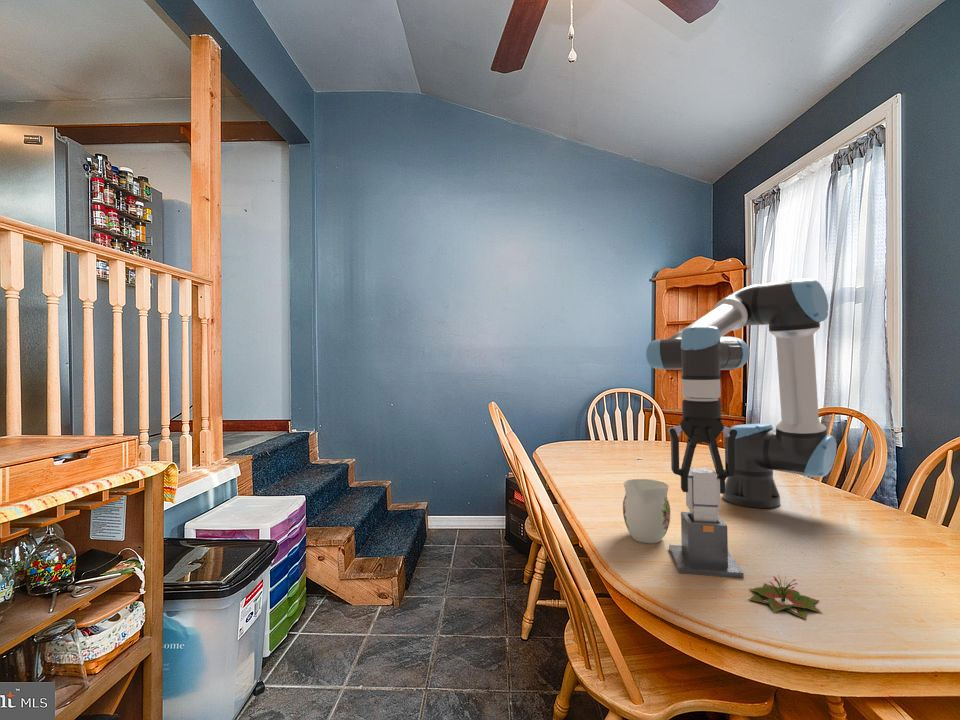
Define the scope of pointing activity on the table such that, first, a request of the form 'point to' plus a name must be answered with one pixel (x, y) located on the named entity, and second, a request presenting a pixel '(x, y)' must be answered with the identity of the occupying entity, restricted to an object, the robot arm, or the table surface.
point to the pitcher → (646, 509)
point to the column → (704, 495)
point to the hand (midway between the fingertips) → (702, 507)
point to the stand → (704, 549)
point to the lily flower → (783, 593)
